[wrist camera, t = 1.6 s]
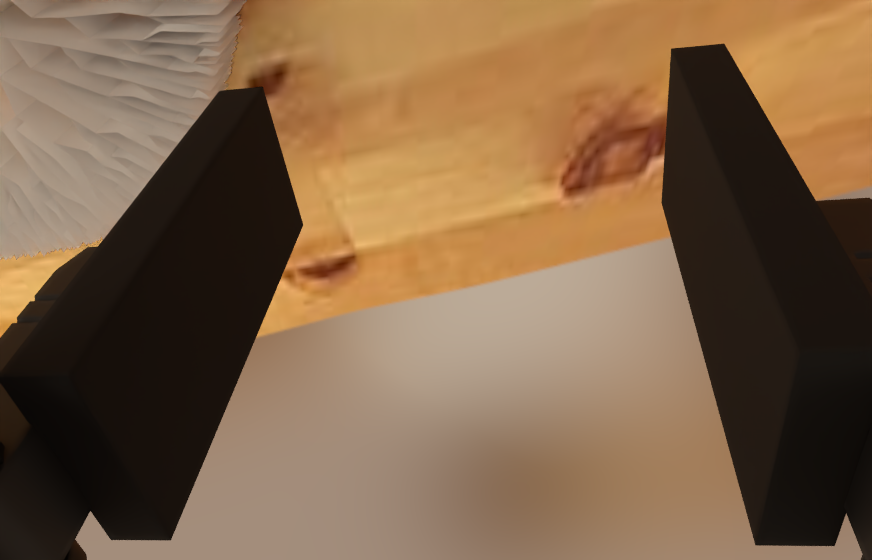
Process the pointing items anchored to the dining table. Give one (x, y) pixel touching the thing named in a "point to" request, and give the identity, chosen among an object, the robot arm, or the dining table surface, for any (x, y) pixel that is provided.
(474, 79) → the dining table surface
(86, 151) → the spiky fractal disc
